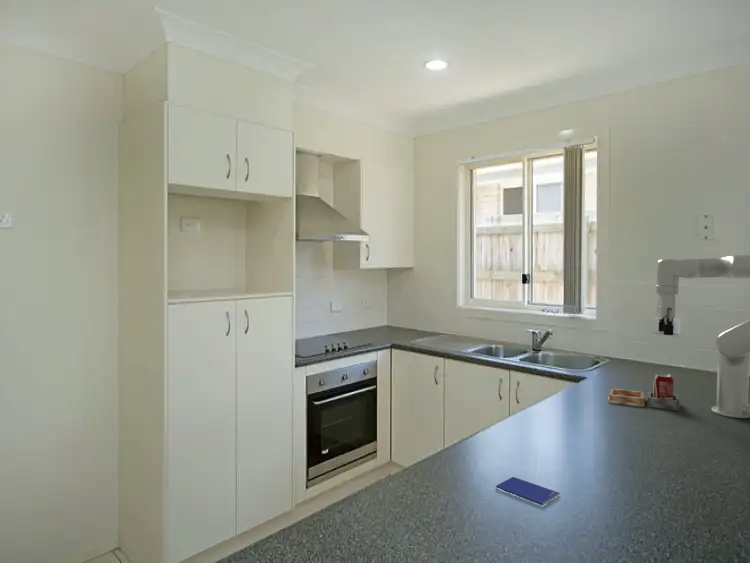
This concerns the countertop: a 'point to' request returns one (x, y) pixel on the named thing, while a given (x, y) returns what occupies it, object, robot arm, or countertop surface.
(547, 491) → the hard drive
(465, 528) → the countertop surface
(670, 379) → the soda can
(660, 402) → the dock
